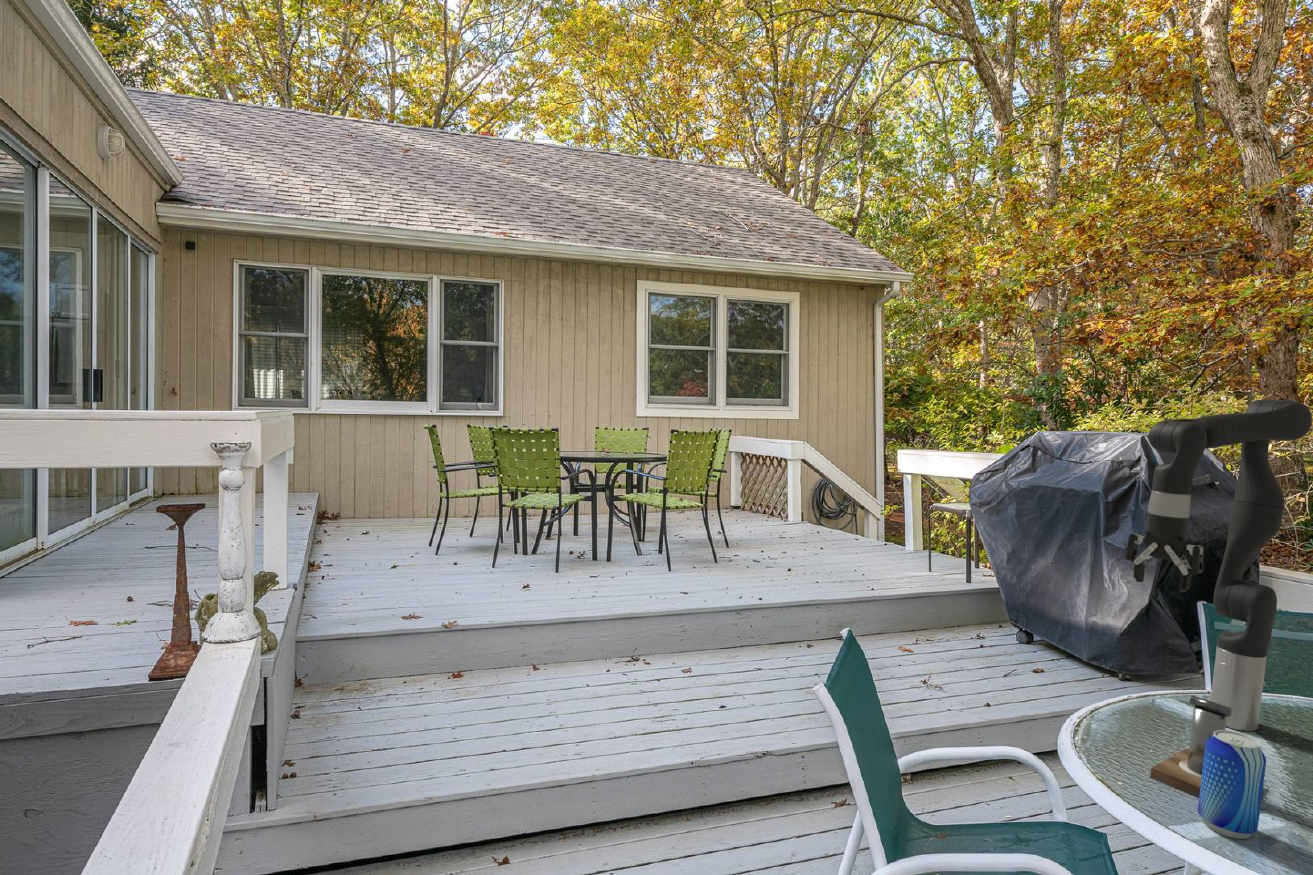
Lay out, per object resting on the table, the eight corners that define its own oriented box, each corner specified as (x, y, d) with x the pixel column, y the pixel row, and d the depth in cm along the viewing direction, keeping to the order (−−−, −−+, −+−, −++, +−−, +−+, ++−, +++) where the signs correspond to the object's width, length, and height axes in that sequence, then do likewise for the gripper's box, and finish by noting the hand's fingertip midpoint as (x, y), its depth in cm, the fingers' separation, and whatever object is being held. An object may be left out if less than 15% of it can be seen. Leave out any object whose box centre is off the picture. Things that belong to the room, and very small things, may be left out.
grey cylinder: (1190, 759, 154) (1198, 692, 153) (1227, 774, 149) (1236, 705, 147) (1178, 765, 151) (1186, 697, 150) (1216, 781, 146) (1225, 710, 144)
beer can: (1185, 813, 138) (1195, 726, 136) (1228, 813, 138) (1239, 727, 137) (1223, 841, 129) (1234, 750, 128) (1269, 841, 130) (1281, 750, 129)
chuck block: (1185, 757, 159) (1186, 747, 159) (1254, 784, 150) (1256, 774, 149) (1150, 777, 150) (1151, 766, 150) (1222, 807, 140) (1223, 795, 140)
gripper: (1214, 518, 163) (1205, 593, 164) (1141, 506, 174) (1133, 576, 176) (1199, 520, 158) (1190, 597, 160) (1125, 508, 170) (1117, 580, 171)
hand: (1160, 586), depth 168 cm, fingers open, 8 cm apart
